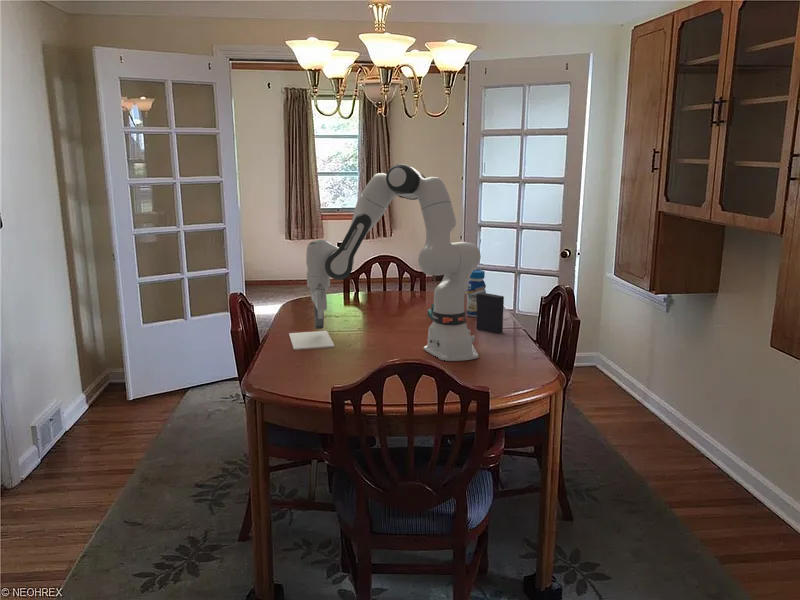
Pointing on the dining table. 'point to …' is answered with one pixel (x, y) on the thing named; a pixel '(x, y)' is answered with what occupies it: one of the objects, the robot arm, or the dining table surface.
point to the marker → (318, 322)
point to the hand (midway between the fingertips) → (319, 316)
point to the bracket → (431, 311)
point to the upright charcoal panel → (490, 312)
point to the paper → (311, 340)
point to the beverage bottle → (474, 291)
